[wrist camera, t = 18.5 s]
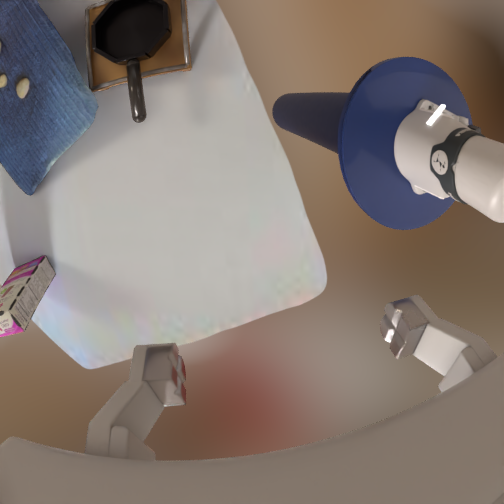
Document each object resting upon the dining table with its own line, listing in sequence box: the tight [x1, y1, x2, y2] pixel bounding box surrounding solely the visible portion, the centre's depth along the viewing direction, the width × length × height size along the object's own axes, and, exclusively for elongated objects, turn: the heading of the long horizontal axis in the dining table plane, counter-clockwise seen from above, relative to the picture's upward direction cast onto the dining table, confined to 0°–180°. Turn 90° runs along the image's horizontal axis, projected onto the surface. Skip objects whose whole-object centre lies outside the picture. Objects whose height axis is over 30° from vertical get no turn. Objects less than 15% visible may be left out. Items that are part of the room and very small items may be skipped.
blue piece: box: [0, 0, 98, 195], centre depth 23 cm, size 45×27×12 cm, turn 31°
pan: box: [91, 0, 172, 123], centre depth 26 cm, size 10×19×3 cm, turn 4°
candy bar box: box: [0, 256, 56, 337], centre depth 37 cm, size 11×5×16 cm, turn 103°
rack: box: [85, 0, 192, 92], centre depth 26 cm, size 14×14×5 cm
